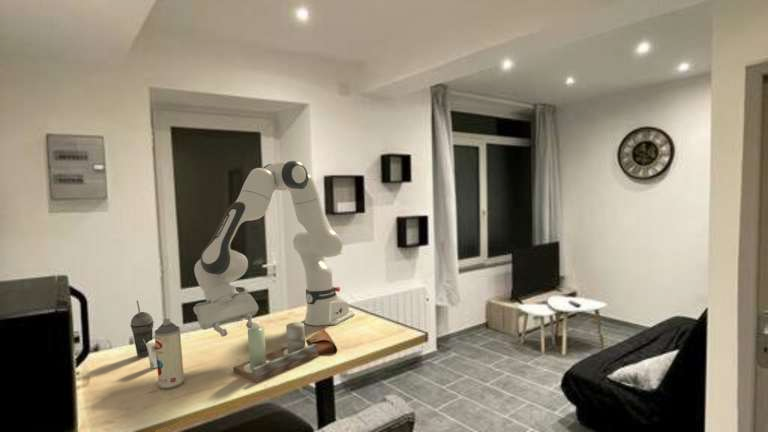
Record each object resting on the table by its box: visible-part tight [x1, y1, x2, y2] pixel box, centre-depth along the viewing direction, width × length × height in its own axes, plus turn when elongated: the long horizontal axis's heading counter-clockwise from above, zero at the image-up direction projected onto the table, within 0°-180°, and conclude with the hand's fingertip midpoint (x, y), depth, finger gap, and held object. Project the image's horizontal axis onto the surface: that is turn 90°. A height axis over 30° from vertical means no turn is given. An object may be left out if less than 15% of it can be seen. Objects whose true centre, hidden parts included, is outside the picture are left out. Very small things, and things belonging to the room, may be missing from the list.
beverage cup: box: [130, 300, 155, 359], centre depth 151 cm, size 7×7×20 cm
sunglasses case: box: [305, 328, 338, 357], centre depth 154 cm, size 18×7×7 cm, turn 21°
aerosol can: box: [154, 318, 185, 391], centre depth 127 cm, size 7×7×20 cm
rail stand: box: [232, 321, 319, 383], centre depth 140 cm, size 24×13×11 cm, turn 139°
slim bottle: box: [247, 321, 267, 369], centre depth 134 cm, size 5×5×14 cm
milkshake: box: [143, 338, 157, 370], centre depth 141 cm, size 4×5×10 cm
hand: (238, 331), depth 141 cm, fingers open, 8 cm apart
